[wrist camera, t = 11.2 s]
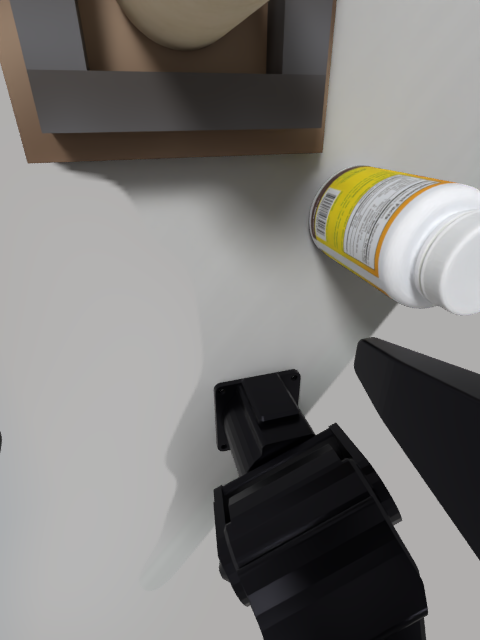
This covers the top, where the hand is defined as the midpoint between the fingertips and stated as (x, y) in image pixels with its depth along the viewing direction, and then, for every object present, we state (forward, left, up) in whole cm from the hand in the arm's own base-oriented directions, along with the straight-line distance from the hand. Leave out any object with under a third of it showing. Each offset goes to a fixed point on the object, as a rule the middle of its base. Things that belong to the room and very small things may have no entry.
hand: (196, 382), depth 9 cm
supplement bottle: (0, -12, -13) cm, 18 cm away
